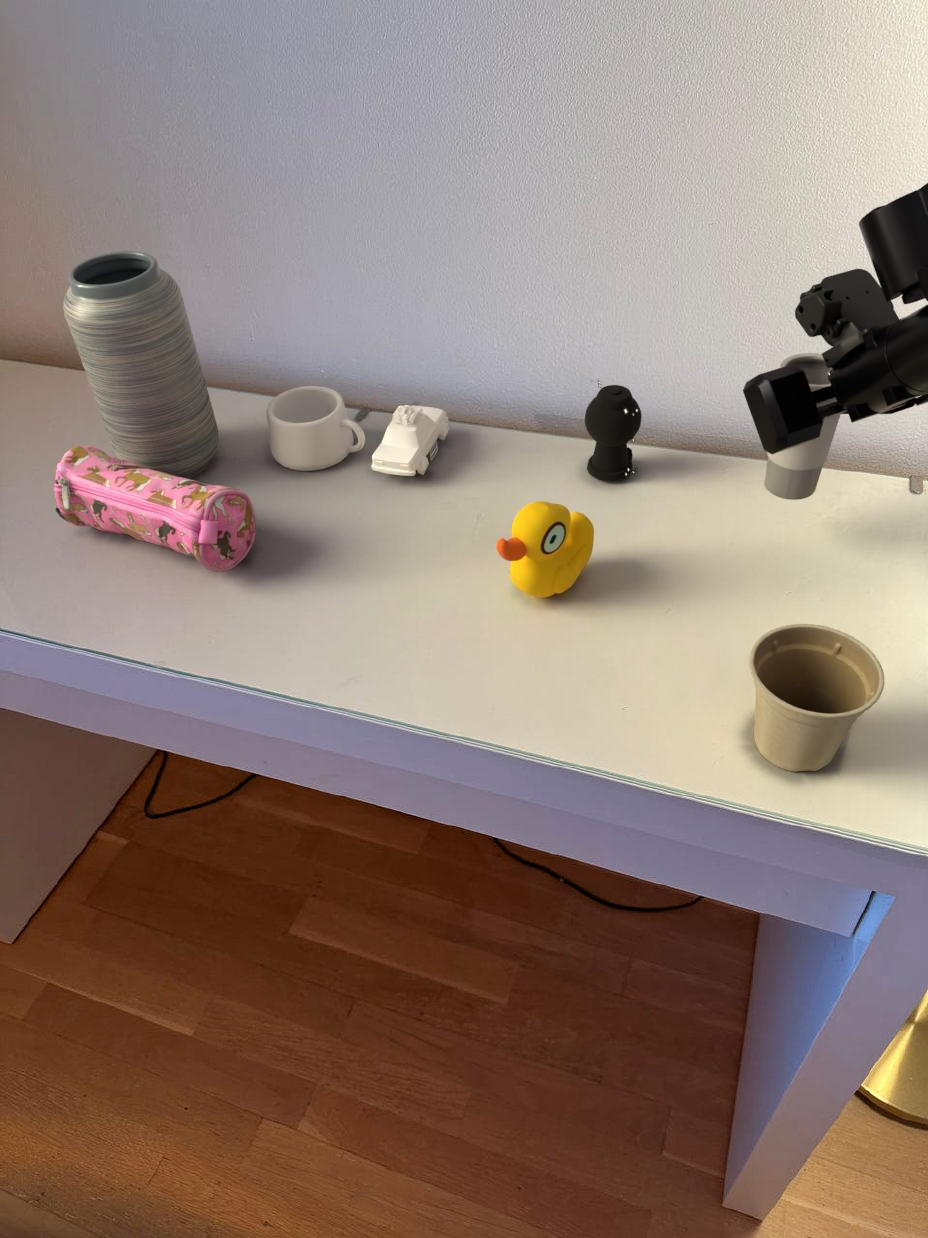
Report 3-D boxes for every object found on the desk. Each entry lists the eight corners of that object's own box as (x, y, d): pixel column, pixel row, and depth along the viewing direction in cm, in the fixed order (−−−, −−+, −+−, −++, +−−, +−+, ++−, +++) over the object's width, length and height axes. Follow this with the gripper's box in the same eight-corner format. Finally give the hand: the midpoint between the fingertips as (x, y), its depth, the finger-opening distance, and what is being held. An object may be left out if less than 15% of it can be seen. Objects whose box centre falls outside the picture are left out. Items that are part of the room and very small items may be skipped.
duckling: (521, 631, 84) (520, 546, 78) (482, 603, 88) (477, 518, 81) (606, 574, 90) (612, 489, 83) (566, 549, 93) (569, 465, 86)
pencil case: (59, 541, 98) (27, 471, 92) (119, 493, 104) (93, 424, 98) (220, 596, 90) (197, 524, 84) (275, 541, 96) (258, 470, 90)
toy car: (454, 433, 109) (450, 381, 104) (418, 491, 101) (412, 438, 96) (406, 426, 111) (401, 375, 106) (368, 484, 103) (360, 430, 98)
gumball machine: (651, 476, 101) (660, 394, 94) (609, 496, 99) (615, 414, 92) (611, 449, 105) (616, 369, 98) (570, 468, 103) (572, 387, 96)
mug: (256, 464, 106) (244, 419, 102) (298, 421, 113) (289, 377, 108) (347, 485, 103) (340, 438, 98) (386, 439, 109) (381, 393, 105)
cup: (824, 512, 84) (854, 394, 76) (749, 501, 86) (770, 385, 78) (829, 469, 89) (858, 353, 81) (757, 460, 91) (778, 346, 83)
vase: (102, 481, 106) (26, 284, 90) (163, 428, 113) (103, 239, 97) (186, 500, 102) (122, 299, 86) (243, 445, 110) (195, 251, 94)
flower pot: (740, 687, 78) (758, 612, 72) (859, 711, 76) (886, 636, 70) (724, 773, 72) (741, 699, 66) (852, 803, 69) (882, 729, 63)
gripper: (977, 225, 71) (845, 309, 86) (779, 279, 66) (676, 358, 81) (1025, 361, 71) (885, 422, 86) (831, 426, 66) (718, 478, 81)
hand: (793, 417), depth 84 cm, fingers closed on cup, 6 cm apart
